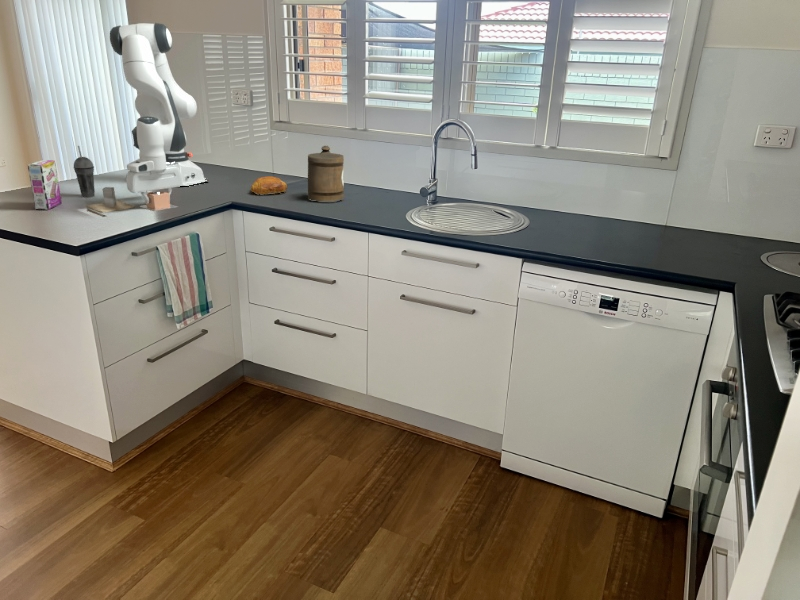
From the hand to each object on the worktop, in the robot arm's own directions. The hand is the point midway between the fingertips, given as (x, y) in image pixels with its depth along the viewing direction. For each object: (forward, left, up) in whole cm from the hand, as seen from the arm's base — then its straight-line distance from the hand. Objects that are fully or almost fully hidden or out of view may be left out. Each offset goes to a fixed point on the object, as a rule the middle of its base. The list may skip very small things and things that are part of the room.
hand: (157, 201), depth 221 cm
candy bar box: (+26, -31, -4) cm, 41 cm away
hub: (+13, -10, -3) cm, 17 cm away
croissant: (-51, +1, -4) cm, 51 cm away
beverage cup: (+8, -39, -4) cm, 40 cm away
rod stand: (0, 0, -3) cm, 3 cm away
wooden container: (-60, +27, -4) cm, 66 cm away
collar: (0, 0, -2) cm, 2 cm away
